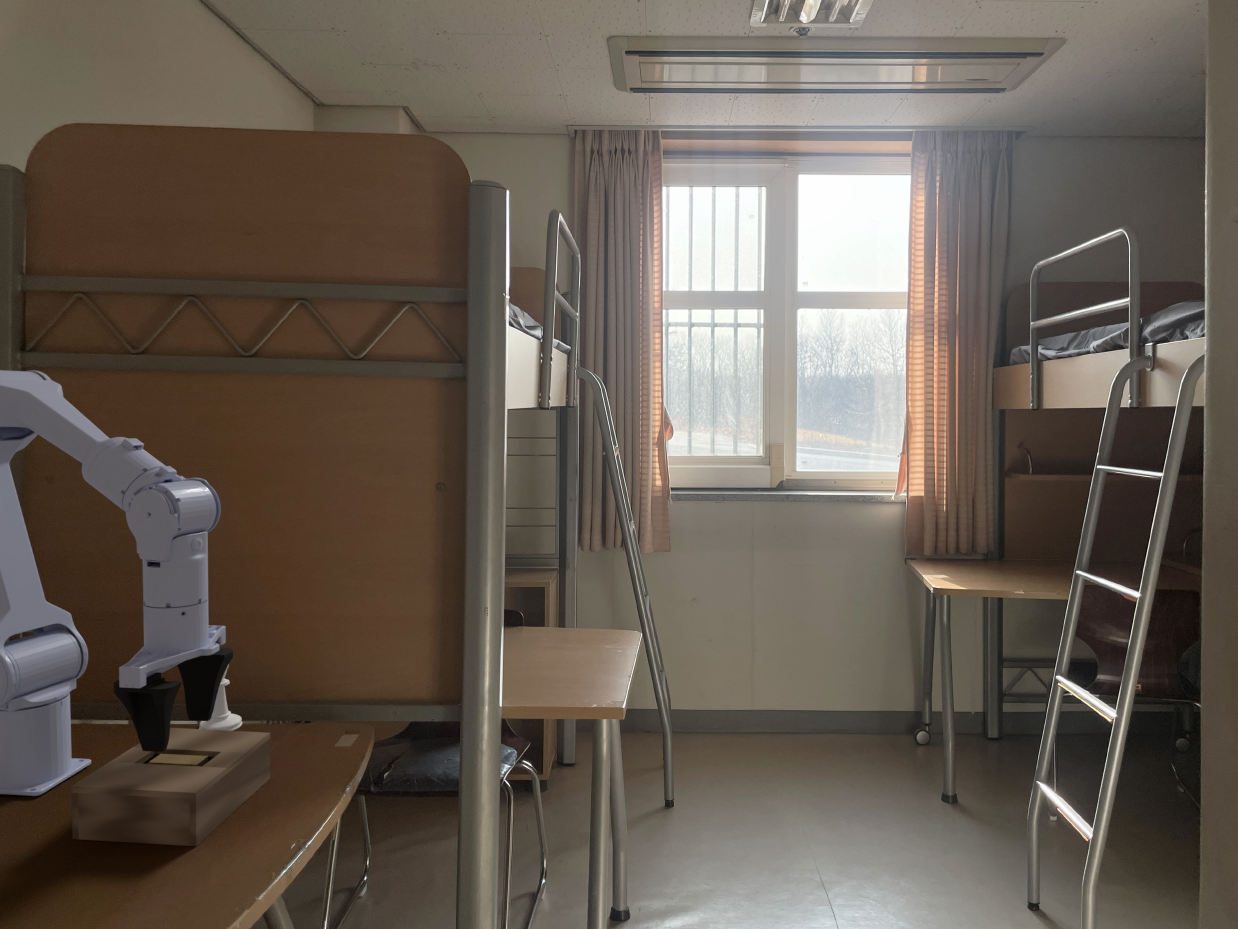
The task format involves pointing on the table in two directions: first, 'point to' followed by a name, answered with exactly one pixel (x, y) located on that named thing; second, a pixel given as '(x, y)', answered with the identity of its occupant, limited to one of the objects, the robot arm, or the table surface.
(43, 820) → the table surface
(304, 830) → the table surface
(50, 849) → the table surface
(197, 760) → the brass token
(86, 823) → the beige block with hole
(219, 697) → the chess piece
